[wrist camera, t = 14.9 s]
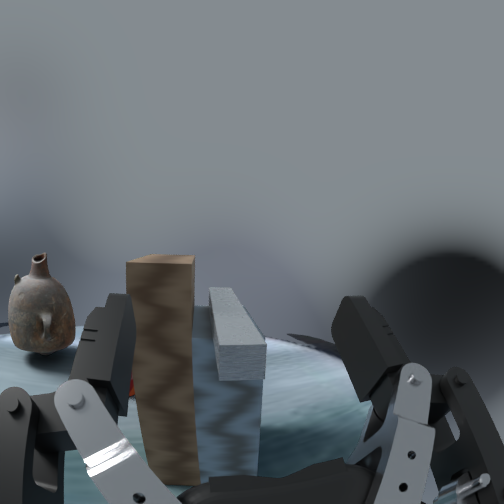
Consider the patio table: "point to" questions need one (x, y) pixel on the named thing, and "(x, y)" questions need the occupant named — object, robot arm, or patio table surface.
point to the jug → (40, 311)
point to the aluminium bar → (235, 338)
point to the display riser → (186, 380)
